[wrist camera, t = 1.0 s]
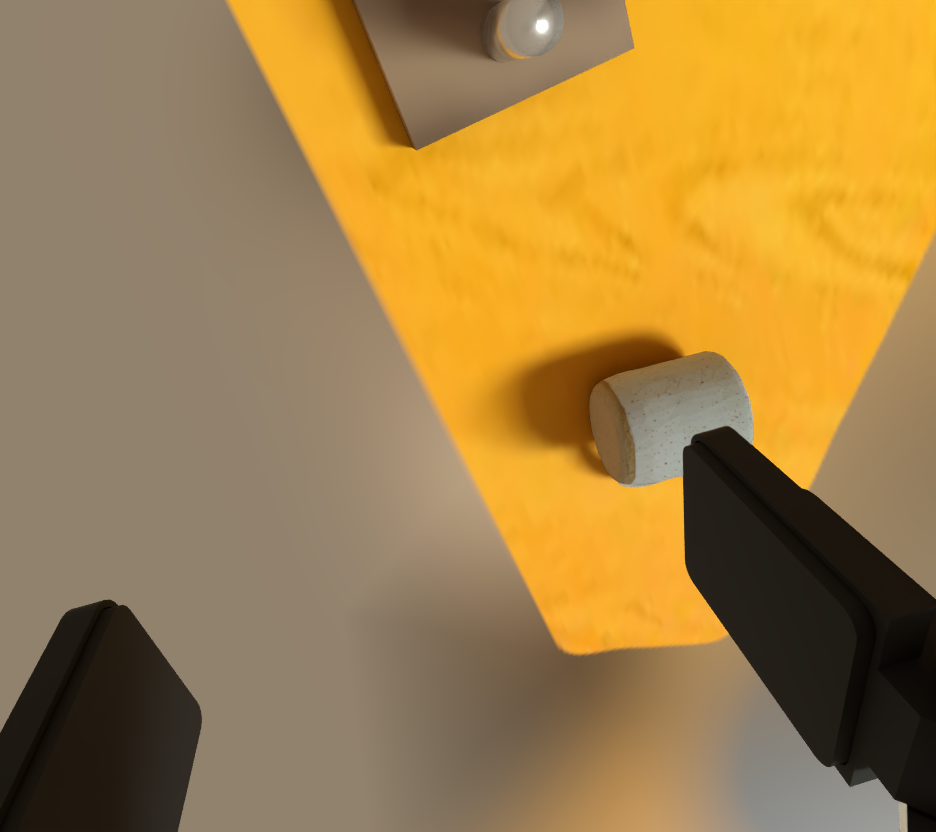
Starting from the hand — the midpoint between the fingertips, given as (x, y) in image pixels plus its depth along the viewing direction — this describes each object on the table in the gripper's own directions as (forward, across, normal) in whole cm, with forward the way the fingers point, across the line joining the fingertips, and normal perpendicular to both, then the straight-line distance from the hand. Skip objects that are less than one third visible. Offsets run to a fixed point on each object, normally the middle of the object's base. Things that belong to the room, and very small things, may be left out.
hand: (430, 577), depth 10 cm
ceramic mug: (+27, -15, +16) cm, 35 cm away
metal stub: (+25, -9, -8) cm, 28 cm away
